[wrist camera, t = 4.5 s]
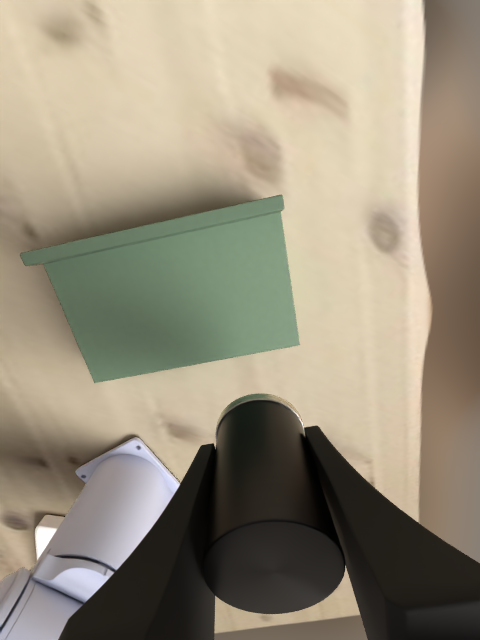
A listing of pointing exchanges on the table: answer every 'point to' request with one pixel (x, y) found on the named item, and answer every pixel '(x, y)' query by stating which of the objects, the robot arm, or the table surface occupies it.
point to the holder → (268, 513)
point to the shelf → (176, 290)
